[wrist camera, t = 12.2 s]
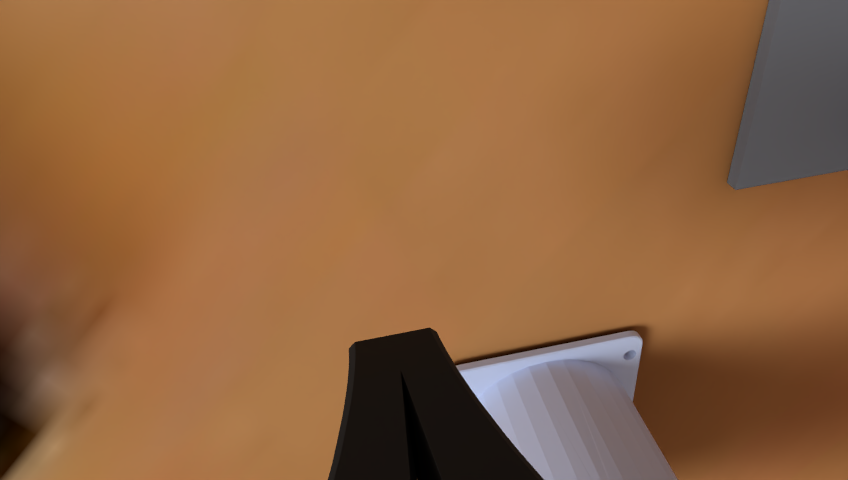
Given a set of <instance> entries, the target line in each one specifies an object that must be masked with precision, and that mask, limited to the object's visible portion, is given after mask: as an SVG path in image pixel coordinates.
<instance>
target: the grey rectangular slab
mask: <svg viewBox="0 0 848 480" xmlns="http://www.w3.org/2000/svg"><path fill="white" fill-rule="evenodd" d="M844 170H848V0H769V3H768V7H767V12H766V16H765V20H764V25H763V29H762V33H761V38H760V42H759V46H758V51H757V55H756V59H755V64H754V68H753V72H752V77H751V81H750V85H749V90H748V94H747V98H746V103H745V107H744V111H743V116H742V120H741V124H740V129H739V133H738V137H737V142H736V146H735V150H734V155H733V159H732V163H731V168H730V172H729V176H728V181H727V183H728V184H729V185H730V186H732V187H733V188H734V189H735V190H738V189H743V188H749V187H754V186H760V185H766V184H771V183H777V182H782V181H788V180H794V179H799V178H805V177H810V176H816V175H821V174H827V173H833V172H838V171H844Z"/></svg>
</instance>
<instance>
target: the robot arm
mask: <svg viewBox="0 0 848 480" xmlns="http://www.w3.org/2000/svg"><path fill="white" fill-rule="evenodd" d="M642 345H643V340H642V338H641V337H640V335H639V334H638V333H637V332H636V331H625V332H620V333H615V334H610V335H605V336H600V337H595V338H590V339H585V340H580V341H575V342H570V343H565V344H560V345H555V346H550V347H545V348H540V349H535V350H530V351H525V352H520V353H515V354H510V355H505V356H500V357H495V358H490V359H485V360H480V361H475V362H470V363H465V364H460V365H455V364H454V363H453V361H452V359H451V358H450V356H449V354H448V353H447V351H446V349H445V347H444V345H443V344H442V342H441V340H440V338H439V336H438V334H437V332H436V331H434V330H433V329H431V328H426V329H420V330H415V331H410V332H405V333H400V334H394V335H389V336H384V337H379V338H374V339H369V340H363V341H358V342H355V343H354V344H353V345H352V346H351V347H350V348H349V373H348V384H347V392H346V398H345V404H344V411H343V417H342V421H341V426H340V431H339V435H338V440H337V445H336V449H335V454H334V459H333V463H332V467H331V471H330V474H329V478H328V480H678V479H677V477H676V476H675V474H674V472H673V471H672V469H671V467H670V465H669V464H668V462H667V460H666V459H665V457H664V455H663V453H662V452H661V450H660V448H659V447H658V445H657V443H656V442H655V440H654V438H653V436H652V435H651V433H650V431H649V430H648V428H647V426H646V425H645V423H644V421H643V419H642V418H641V416H640V414H639V413H638V411H637V409H636V407H635V406H634V404H633V398H634V392H635V386H636V380H637V374H638V368H639V362H640V356H641V350H642Z"/></svg>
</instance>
